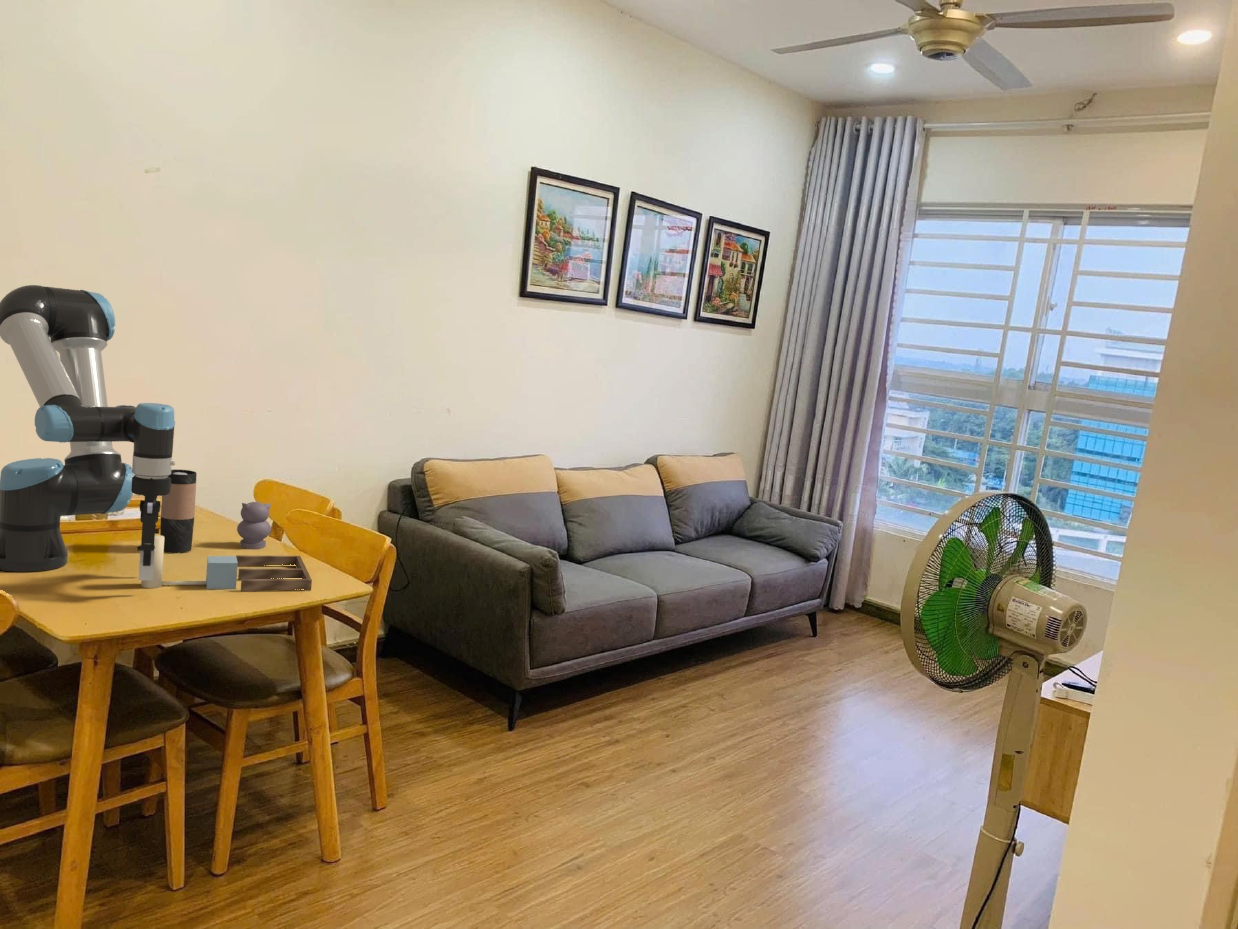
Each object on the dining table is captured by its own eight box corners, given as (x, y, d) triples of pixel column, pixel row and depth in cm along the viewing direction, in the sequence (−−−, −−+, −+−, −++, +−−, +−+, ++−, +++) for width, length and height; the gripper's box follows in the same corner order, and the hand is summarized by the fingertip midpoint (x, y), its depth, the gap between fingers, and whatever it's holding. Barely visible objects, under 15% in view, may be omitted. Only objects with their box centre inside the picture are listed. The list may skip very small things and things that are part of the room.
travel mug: (198, 548, 234) (203, 472, 231) (181, 555, 226) (186, 476, 223) (170, 544, 234) (174, 468, 232) (152, 550, 227) (156, 471, 224)
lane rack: (240, 591, 203) (241, 580, 203) (235, 565, 223) (235, 555, 222) (311, 590, 210) (311, 580, 210) (299, 565, 229) (300, 555, 229)
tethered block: (140, 589, 196) (143, 540, 195) (141, 582, 202) (144, 533, 200) (235, 588, 205) (239, 541, 203) (234, 581, 210) (237, 535, 209)
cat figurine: (265, 542, 248) (268, 498, 247) (274, 549, 242) (277, 504, 241) (232, 543, 243) (235, 499, 241) (240, 550, 237) (243, 505, 235)
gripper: (171, 487, 187) (165, 587, 189) (171, 466, 209) (166, 556, 211) (129, 485, 183) (124, 587, 186) (134, 465, 205) (129, 556, 208)
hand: (146, 571), depth 199 cm, fingers open, 13 cm apart
